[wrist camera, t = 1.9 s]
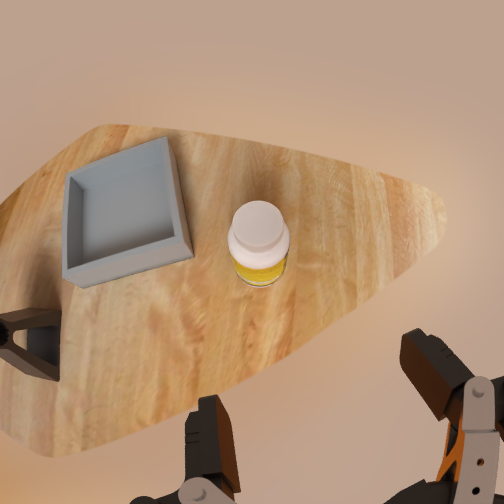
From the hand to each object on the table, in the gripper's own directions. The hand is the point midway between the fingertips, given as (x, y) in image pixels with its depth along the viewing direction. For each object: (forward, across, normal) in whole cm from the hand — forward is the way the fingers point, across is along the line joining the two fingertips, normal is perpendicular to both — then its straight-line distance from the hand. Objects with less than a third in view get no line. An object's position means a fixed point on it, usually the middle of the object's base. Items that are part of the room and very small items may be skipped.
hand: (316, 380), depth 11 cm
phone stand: (+19, +29, +6) cm, 35 cm away
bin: (+28, +14, -3) cm, 31 cm away
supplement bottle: (+21, 0, +5) cm, 22 cm away
